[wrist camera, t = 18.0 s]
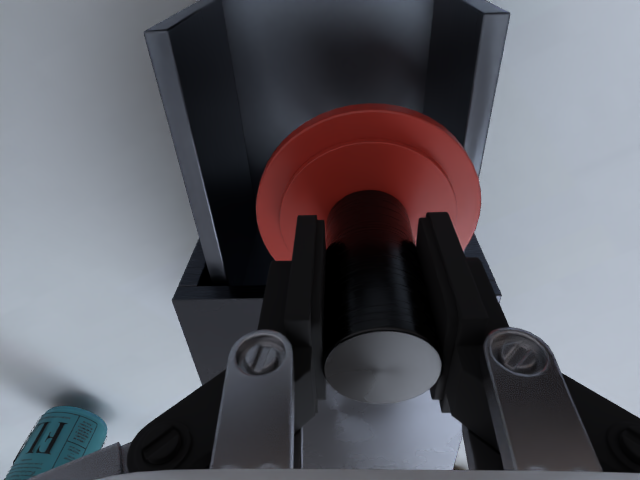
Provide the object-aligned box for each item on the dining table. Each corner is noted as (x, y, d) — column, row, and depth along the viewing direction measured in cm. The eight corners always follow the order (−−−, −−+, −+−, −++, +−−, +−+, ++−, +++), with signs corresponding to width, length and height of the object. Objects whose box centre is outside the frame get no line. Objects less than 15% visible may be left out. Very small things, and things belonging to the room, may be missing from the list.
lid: (396, 312, 17) (422, 478, 12) (227, 243, 15) (172, 405, 10) (525, 169, 13) (646, 326, 8) (319, 55, 11) (305, 162, 6)
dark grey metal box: (224, 178, 27) (171, 300, 18) (446, 171, 26) (502, 295, 17) (260, 351, 37) (236, 483, 28) (421, 349, 36) (449, 484, 27)
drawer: (136, -288, 15) (-50, -486, 8) (505, -323, 14) (680, -576, 7) (238, 223, 28) (204, 328, 20) (434, 218, 27) (470, 324, 20)
